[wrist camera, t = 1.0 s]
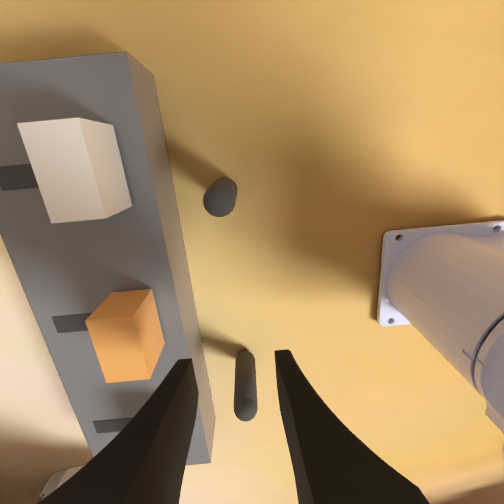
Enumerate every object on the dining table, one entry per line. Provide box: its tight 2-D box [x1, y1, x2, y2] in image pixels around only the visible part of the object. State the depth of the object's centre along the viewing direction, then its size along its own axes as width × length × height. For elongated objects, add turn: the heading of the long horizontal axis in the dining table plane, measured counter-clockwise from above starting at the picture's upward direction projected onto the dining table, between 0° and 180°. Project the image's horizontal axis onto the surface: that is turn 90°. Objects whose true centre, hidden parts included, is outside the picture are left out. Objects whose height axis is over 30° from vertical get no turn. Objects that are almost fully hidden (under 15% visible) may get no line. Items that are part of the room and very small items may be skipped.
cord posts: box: [203, 177, 257, 421], centre depth 18 cm, size 2×16×6 cm, turn 5°
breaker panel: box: [0, 52, 215, 465], centre depth 19 cm, size 9×28×4 cm, turn 5°
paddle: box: [17, 118, 132, 224], centre depth 13 cm, size 2×4×3 cm, turn 5°
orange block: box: [85, 289, 165, 383], centre depth 16 cm, size 2×4×3 cm, turn 5°
